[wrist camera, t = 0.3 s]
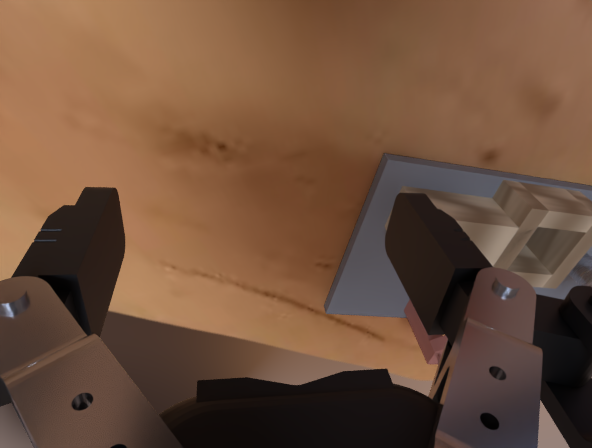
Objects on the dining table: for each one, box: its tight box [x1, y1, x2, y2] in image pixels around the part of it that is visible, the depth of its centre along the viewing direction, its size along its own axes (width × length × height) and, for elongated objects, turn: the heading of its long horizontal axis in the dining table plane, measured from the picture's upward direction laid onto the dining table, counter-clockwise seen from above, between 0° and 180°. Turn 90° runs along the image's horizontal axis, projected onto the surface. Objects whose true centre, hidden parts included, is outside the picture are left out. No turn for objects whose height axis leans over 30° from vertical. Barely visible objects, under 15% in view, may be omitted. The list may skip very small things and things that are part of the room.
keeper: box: [404, 300, 448, 365], centre depth 39 cm, size 2×6×7 cm, turn 112°
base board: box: [324, 153, 592, 318], centre depth 40 cm, size 17×28×1 cm, turn 77°
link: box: [385, 180, 592, 289], centre depth 34 cm, size 16×8×4 cm, turn 77°
